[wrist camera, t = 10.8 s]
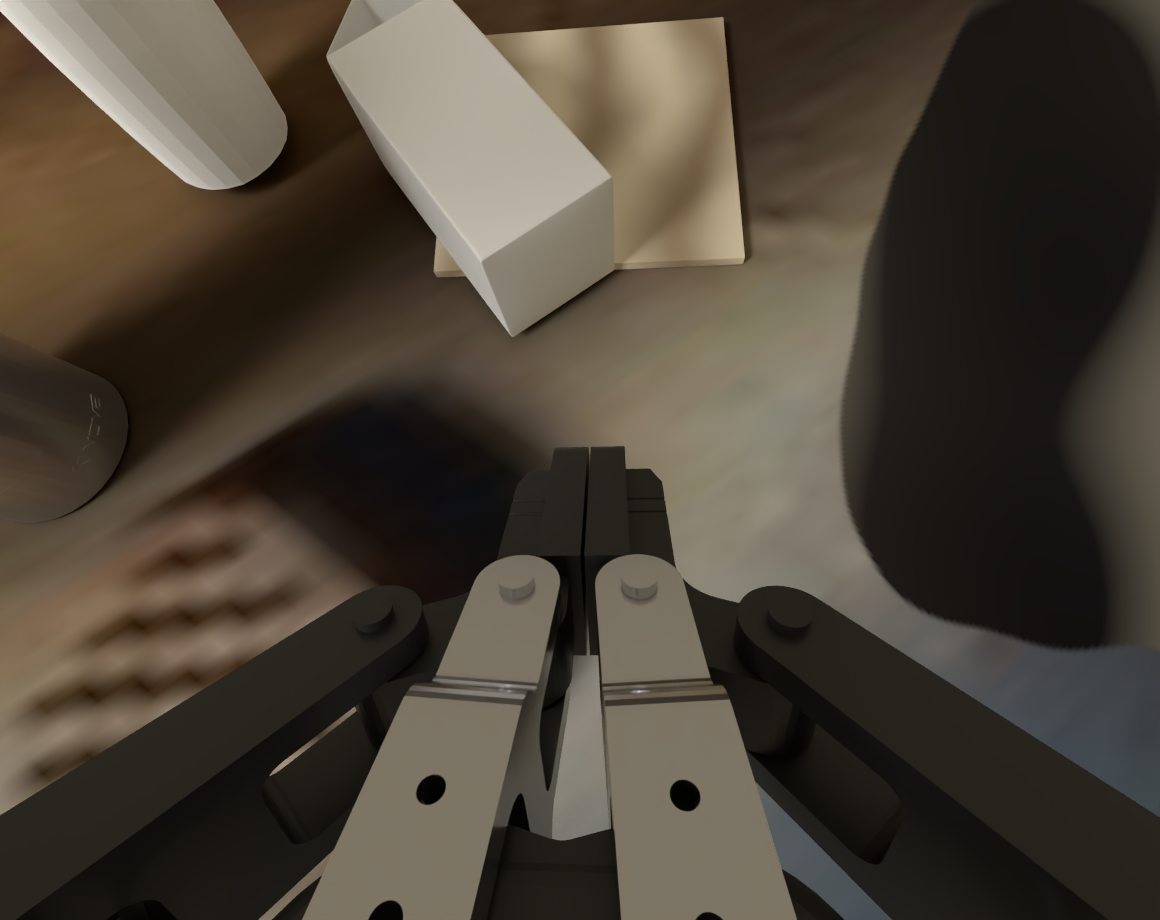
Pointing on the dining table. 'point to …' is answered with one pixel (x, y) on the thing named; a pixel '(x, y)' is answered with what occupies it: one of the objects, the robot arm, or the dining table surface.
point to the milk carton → (477, 155)
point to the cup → (164, 80)
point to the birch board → (645, 133)
